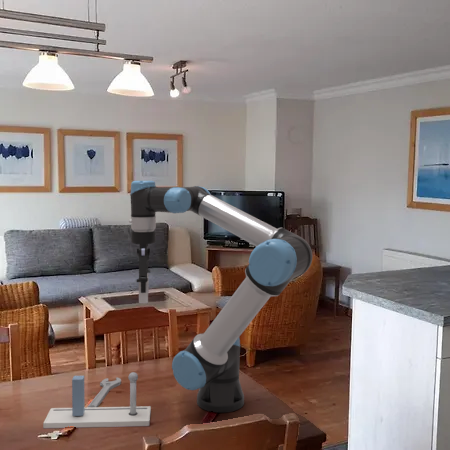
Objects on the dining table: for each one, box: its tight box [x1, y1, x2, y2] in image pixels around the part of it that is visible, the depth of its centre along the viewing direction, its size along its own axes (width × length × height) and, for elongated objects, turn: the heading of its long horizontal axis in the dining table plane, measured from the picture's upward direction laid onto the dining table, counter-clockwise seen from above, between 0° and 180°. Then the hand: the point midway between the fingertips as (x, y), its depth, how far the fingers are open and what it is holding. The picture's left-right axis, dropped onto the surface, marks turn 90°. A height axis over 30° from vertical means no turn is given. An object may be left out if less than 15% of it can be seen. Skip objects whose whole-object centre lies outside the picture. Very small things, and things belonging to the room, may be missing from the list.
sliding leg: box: [71, 375, 86, 416], centre depth 163 cm, size 3×3×11 cm
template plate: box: [42, 371, 152, 429], centre depth 163 cm, size 30×10×14 cm, turn 95°
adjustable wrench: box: [86, 377, 122, 408], centre depth 182 cm, size 25×6×2 cm, turn 170°
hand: (143, 298), depth 173 cm, fingers open, 13 cm apart
